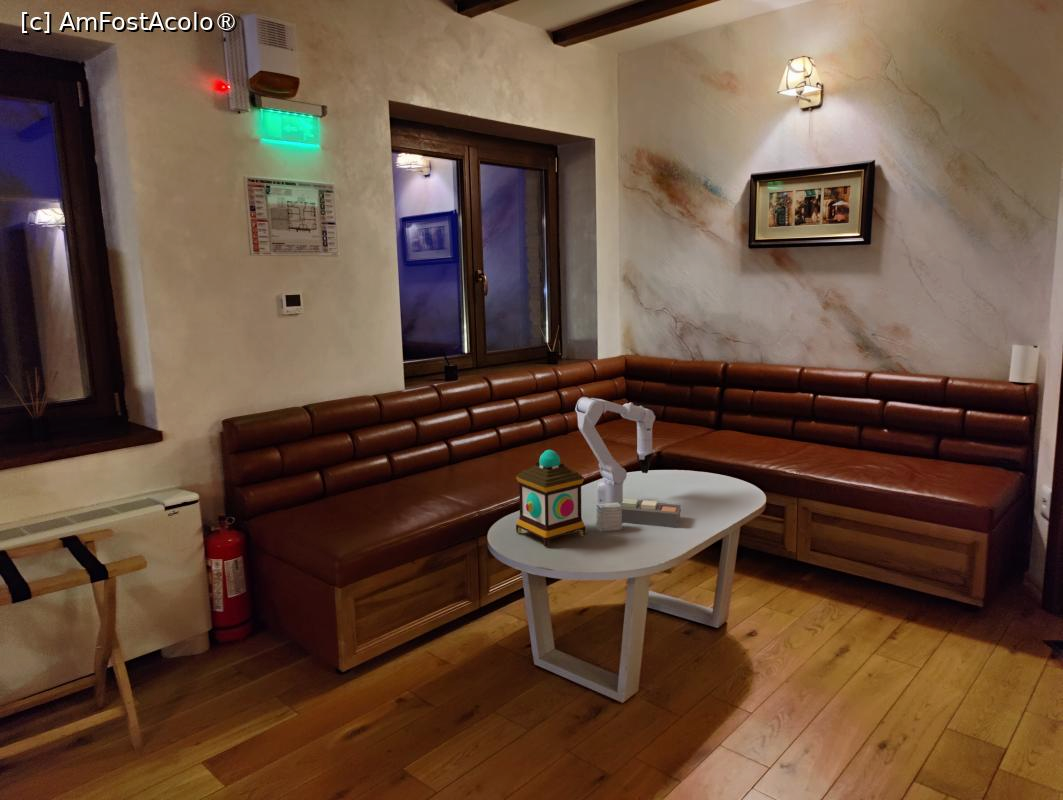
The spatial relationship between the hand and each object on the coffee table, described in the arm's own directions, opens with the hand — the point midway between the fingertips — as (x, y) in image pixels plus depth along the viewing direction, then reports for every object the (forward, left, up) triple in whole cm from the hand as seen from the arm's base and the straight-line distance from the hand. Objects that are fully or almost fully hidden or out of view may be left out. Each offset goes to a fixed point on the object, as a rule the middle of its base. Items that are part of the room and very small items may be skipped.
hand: (645, 472), depth 286 cm
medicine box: (-6, -36, -11) cm, 39 cm away
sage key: (-1, -24, -7) cm, 25 cm away
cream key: (+6, -24, -7) cm, 26 cm away
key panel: (+6, -24, -10) cm, 27 cm away
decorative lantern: (-24, -47, -11) cm, 54 cm away
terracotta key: (+13, -24, -9) cm, 29 cm away
